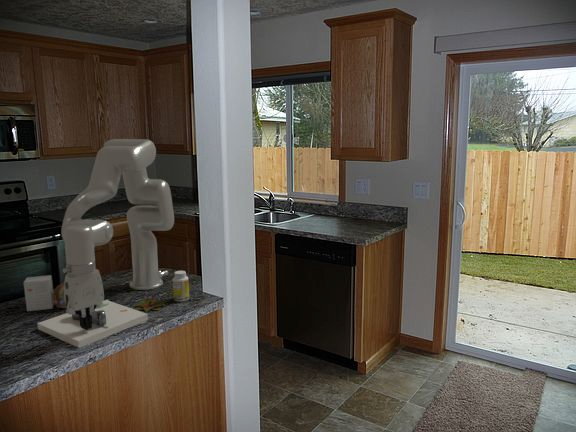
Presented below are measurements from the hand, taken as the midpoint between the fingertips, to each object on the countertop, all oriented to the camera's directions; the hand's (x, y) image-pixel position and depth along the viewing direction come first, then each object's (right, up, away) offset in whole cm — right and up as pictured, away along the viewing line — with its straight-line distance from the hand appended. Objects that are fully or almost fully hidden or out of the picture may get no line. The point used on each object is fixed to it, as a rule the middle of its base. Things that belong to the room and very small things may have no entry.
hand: (86, 327), depth 139 cm
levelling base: (-2, -1, +10) cm, 10 cm away
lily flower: (+11, +1, +25) cm, 28 cm away
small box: (-26, +1, +24) cm, 35 cm away
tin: (-17, +2, +28) cm, 33 cm away
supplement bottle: (+21, +3, +32) cm, 38 cm away
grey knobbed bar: (-2, +1, +8) cm, 8 cm away
